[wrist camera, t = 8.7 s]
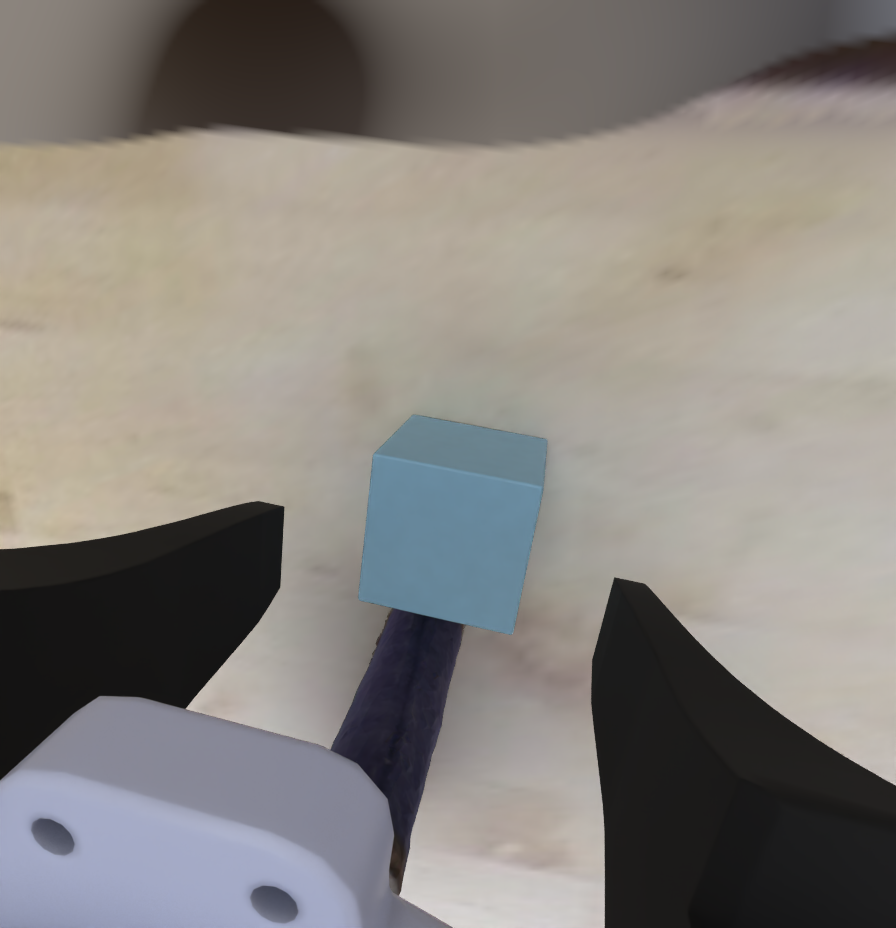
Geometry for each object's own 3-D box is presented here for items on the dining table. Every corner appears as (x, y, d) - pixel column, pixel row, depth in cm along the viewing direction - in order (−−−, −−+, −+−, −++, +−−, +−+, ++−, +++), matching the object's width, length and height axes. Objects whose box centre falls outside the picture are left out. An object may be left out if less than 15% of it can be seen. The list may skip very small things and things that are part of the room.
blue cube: (522, 561, 19) (512, 636, 15) (397, 535, 19) (356, 601, 15) (547, 438, 17) (543, 486, 13) (412, 413, 18) (372, 453, 14)
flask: (419, 805, 22) (301, 1242, 12) (344, 779, 23) (169, 1187, 13) (478, 596, 19) (384, 954, 9) (390, 569, 19) (207, 890, 9)
